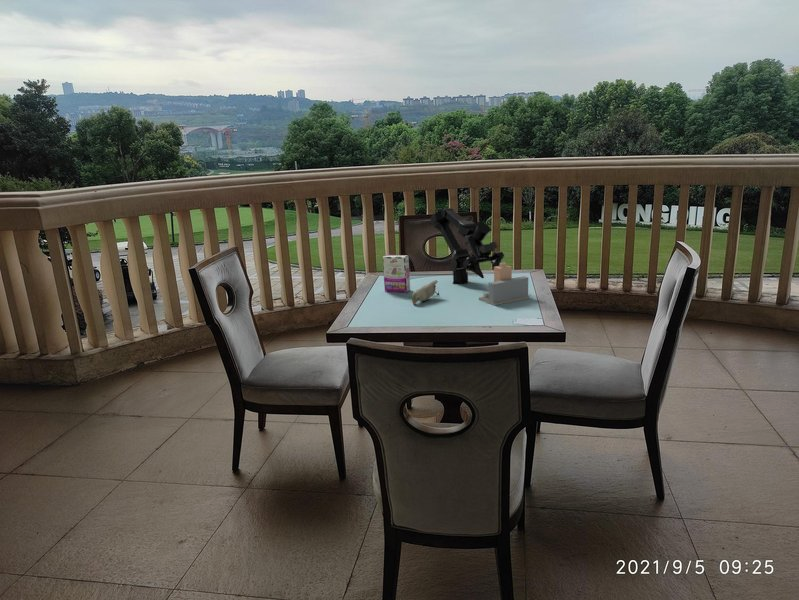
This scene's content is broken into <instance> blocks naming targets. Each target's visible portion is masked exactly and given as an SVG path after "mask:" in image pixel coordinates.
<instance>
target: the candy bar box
mask: <svg viewBox="0 0 799 600" xmlns="http://www.w3.org/2000/svg"><path fill="white" fill-rule="evenodd" d="M409 261H410V259H409V255H404V254H403V255H399V254H398V255H397V254H385V255H383V256H382V266H383V269H382V270H383V281H384V282H383V283H384V292H389V293H408V292H409V291H410V290H411V277H410V276H411V275H410V262H409Z"/></svg>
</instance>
